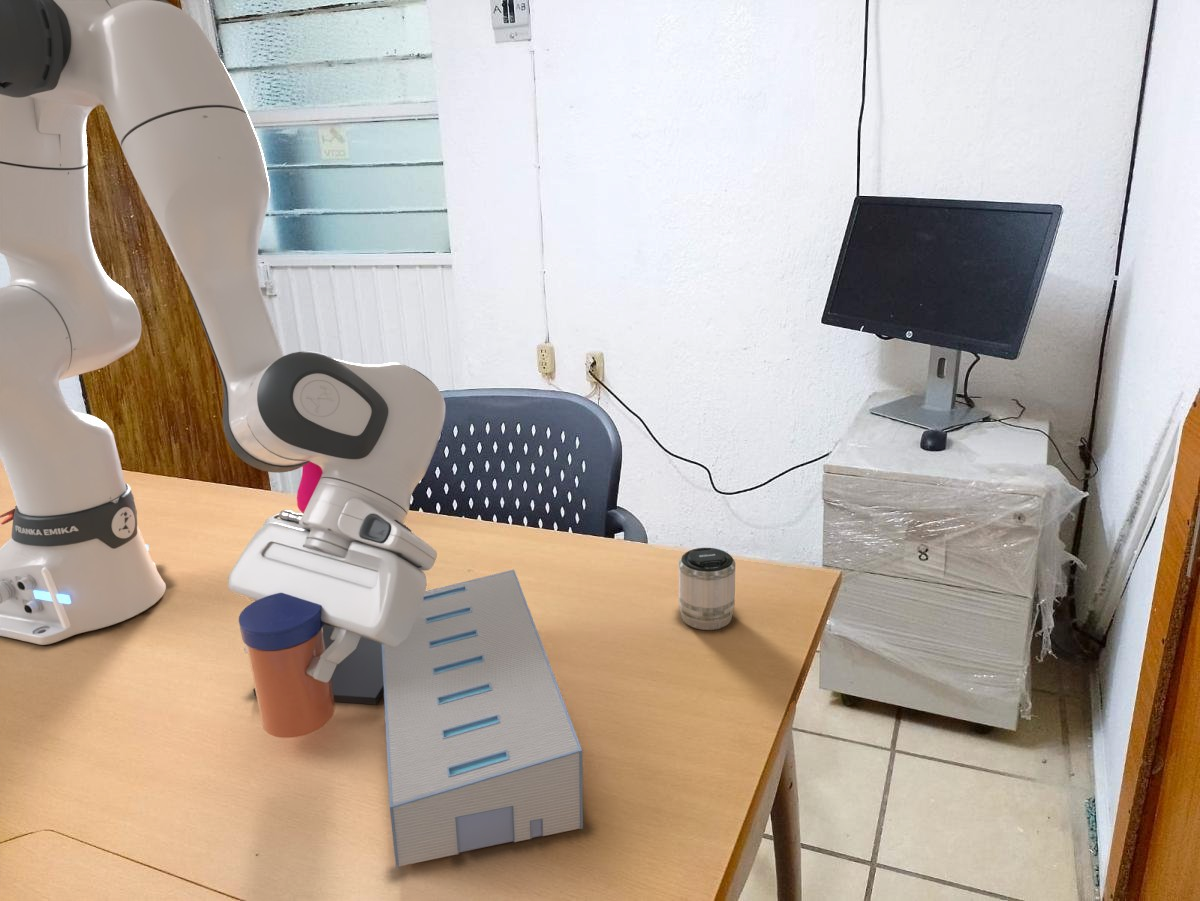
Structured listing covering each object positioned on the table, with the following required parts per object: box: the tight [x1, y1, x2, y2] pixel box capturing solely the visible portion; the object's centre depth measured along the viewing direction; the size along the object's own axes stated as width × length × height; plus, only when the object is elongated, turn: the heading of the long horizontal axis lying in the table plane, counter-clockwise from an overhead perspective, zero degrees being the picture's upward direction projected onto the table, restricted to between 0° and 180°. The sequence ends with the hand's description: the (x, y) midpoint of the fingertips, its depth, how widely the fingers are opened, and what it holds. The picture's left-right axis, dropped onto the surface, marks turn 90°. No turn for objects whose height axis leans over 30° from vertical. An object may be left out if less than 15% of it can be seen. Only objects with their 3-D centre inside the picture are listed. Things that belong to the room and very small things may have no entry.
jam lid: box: [238, 593, 324, 650], centre depth 73 cm, size 7×7×2 cm
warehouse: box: [382, 569, 584, 869], centre depth 76 cm, size 30×14×8 cm, turn 15°
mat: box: [252, 624, 384, 705], centre depth 88 cm, size 13×13×1 cm
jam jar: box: [247, 627, 336, 739], centre depth 74 cm, size 6×6×11 cm
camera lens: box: [678, 547, 736, 631], centre depth 93 cm, size 6×6×8 cm
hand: (285, 667), depth 74 cm, fingers closed on jam jar, 6 cm apart
